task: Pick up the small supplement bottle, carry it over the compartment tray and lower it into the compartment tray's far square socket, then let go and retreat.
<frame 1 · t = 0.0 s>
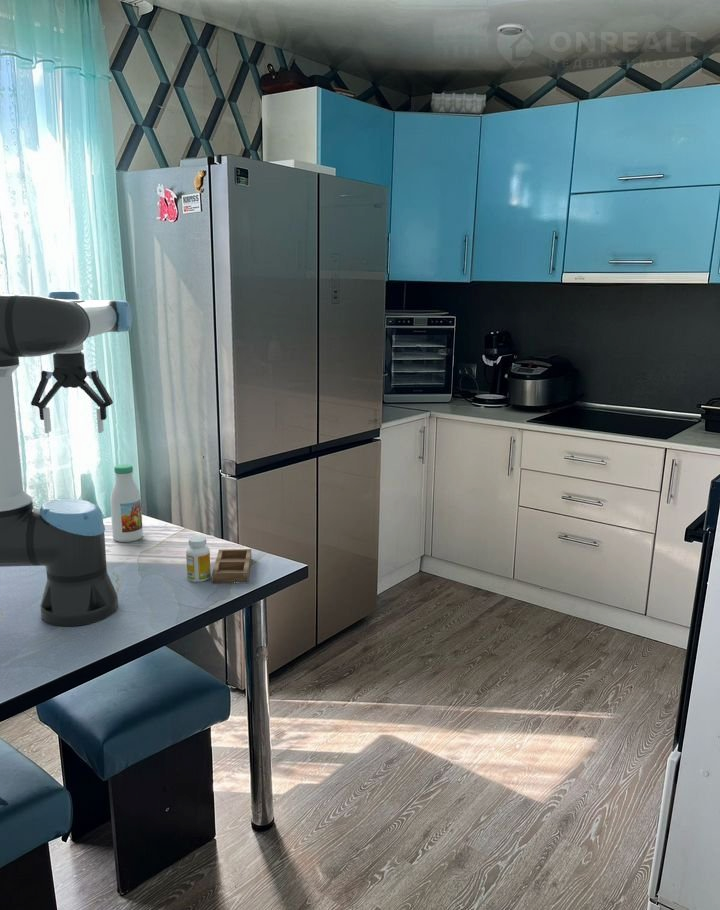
hand: (74, 432, 192), 28 cm above the table, fingers open, 13 cm apart
supplement bottle: (199, 578, 169), on the table
compartment tray: (232, 570, 174), on the table
milk bottle: (128, 538, 194), on the table
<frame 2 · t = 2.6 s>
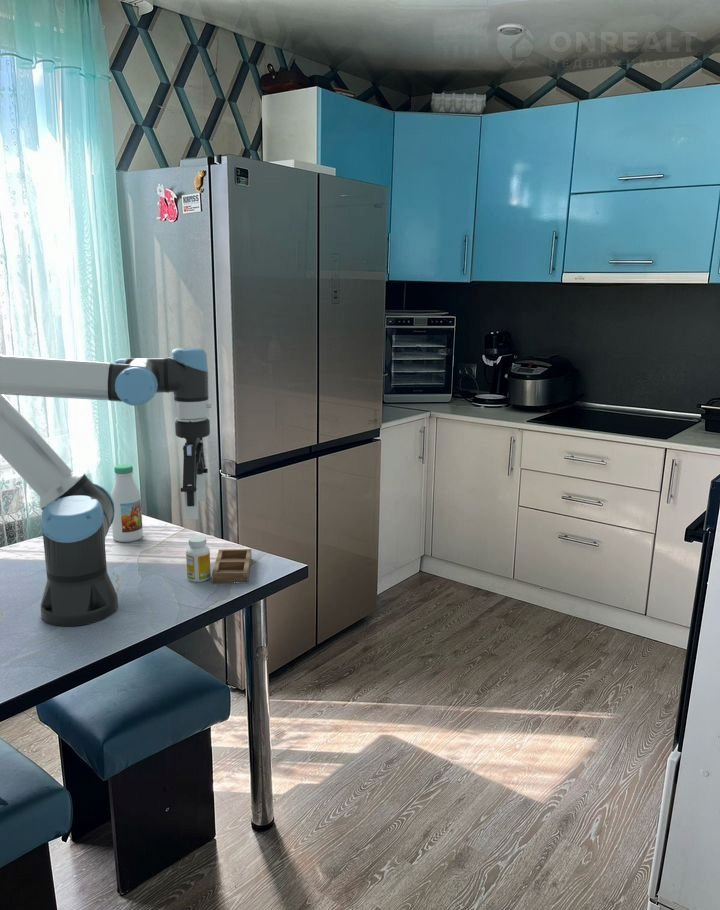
hand: (196, 509, 165), 17 cm above the table, fingers open, 13 cm apart
nothing on the table moved.
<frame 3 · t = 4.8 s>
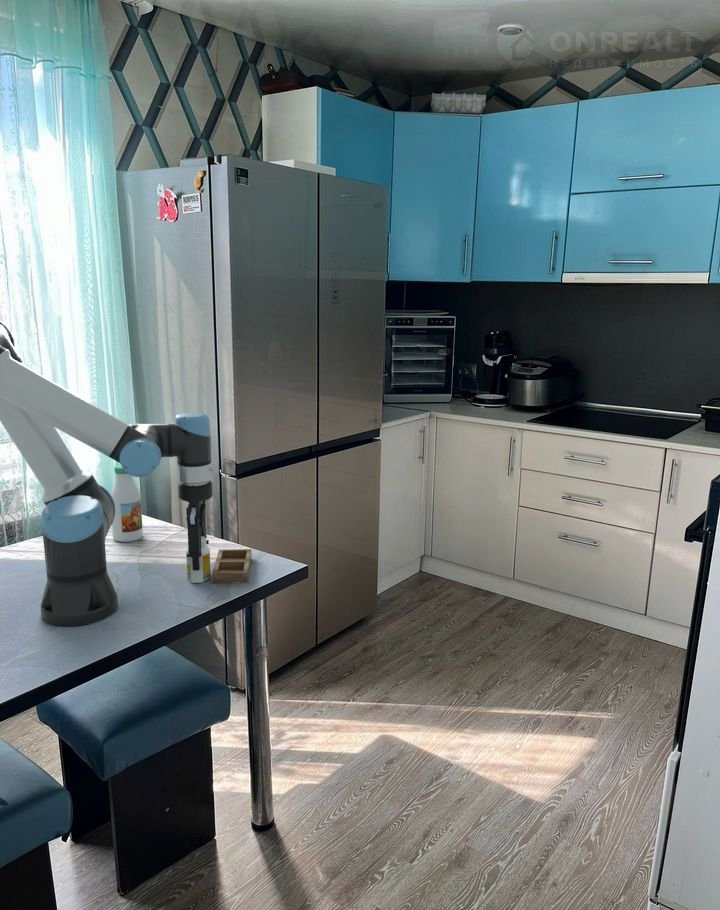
hand: (199, 576, 169), 0 cm above the table, fingers closed on supplement bottle, 5 cm apart
supplement bottle: (199, 578, 169), on the table, touching gripper
everything else where it was.
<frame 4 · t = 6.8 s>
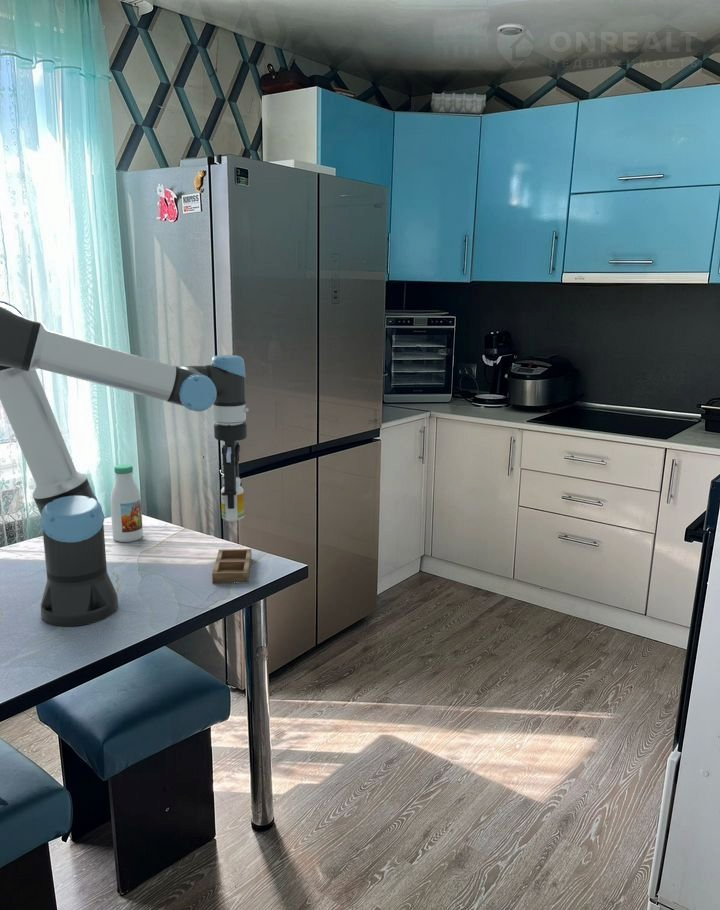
hand: (232, 516, 174), 12 cm above the table, fingers closed on supplement bottle, 5 cm apart
supplement bottle: (233, 518, 174), point 12 cm above the table, touching gripper
everything else where it was.
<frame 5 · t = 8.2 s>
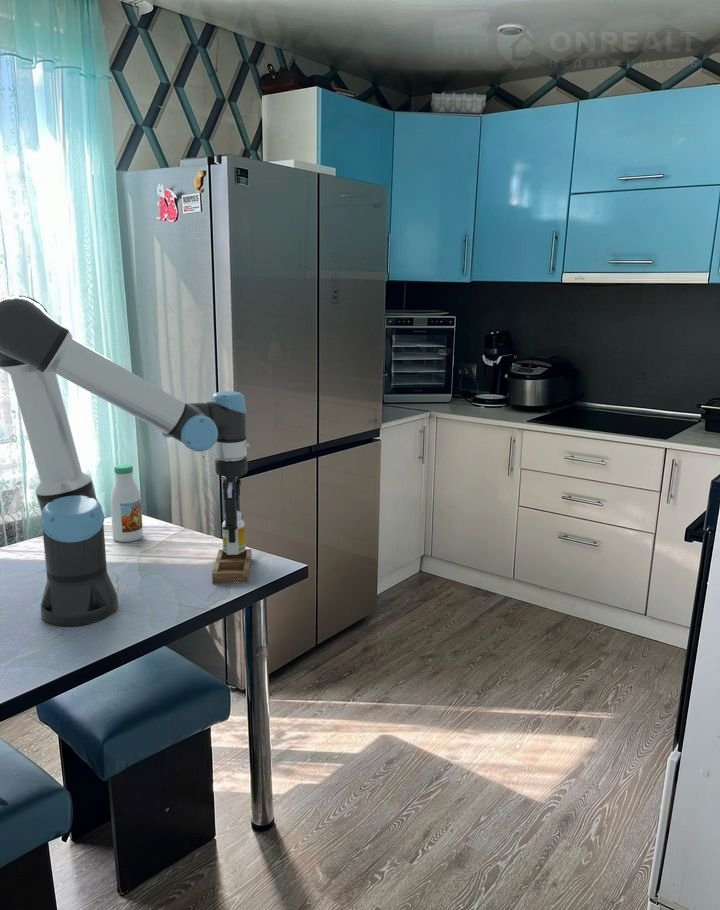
hand: (234, 549, 176), 4 cm above the table, fingers closed on supplement bottle, 5 cm apart
supplement bottle: (234, 551, 177), point 3 cm above the table, touching gripper
everything else where it was.
when the fingers open (3 cm above the table, at t = 9.0 s): supplement bottle drops 2 cm, resting on compartment tray.
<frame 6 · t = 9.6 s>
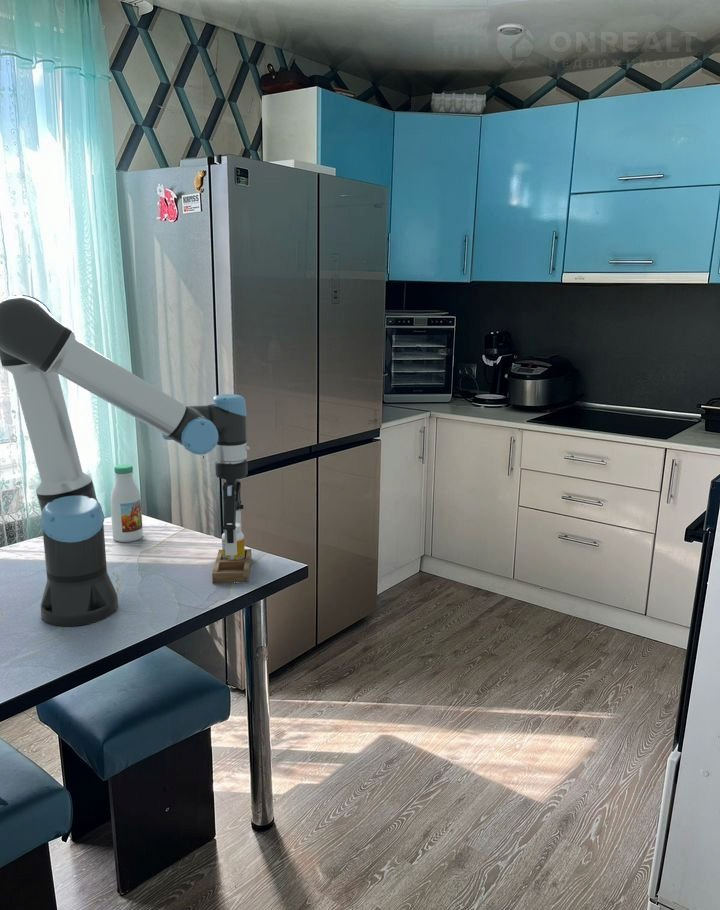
hand: (233, 544, 176), 5 cm above the table, fingers open, 13 cm apart
supplement bottle: (234, 563, 177), resting on compartment tray
everything else where it was.
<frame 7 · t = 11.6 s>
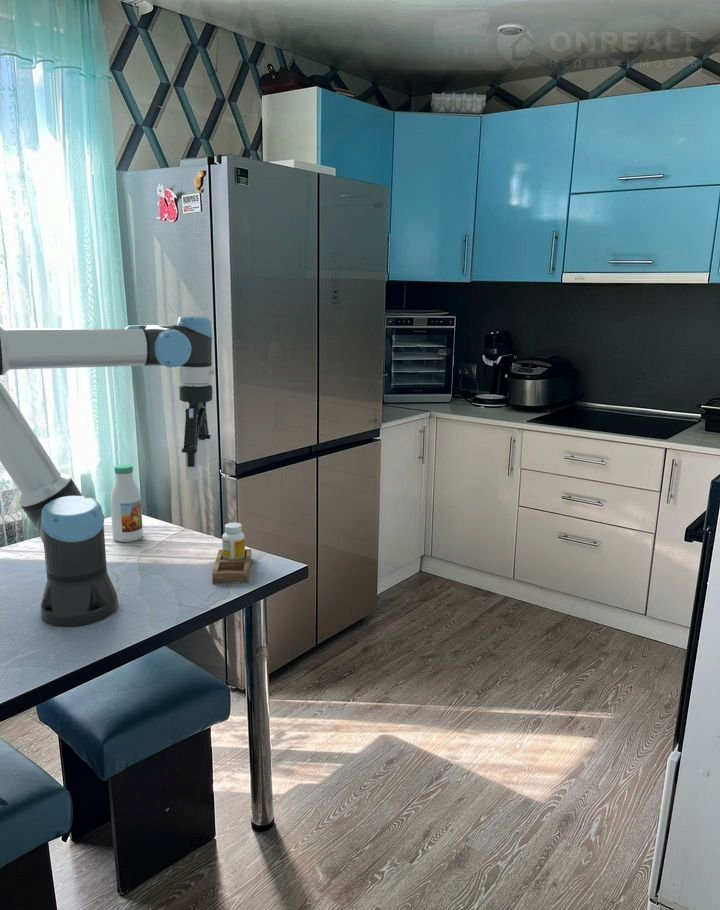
hand: (197, 472, 173), 23 cm above the table, fingers open, 13 cm apart
nothing on the table moved.
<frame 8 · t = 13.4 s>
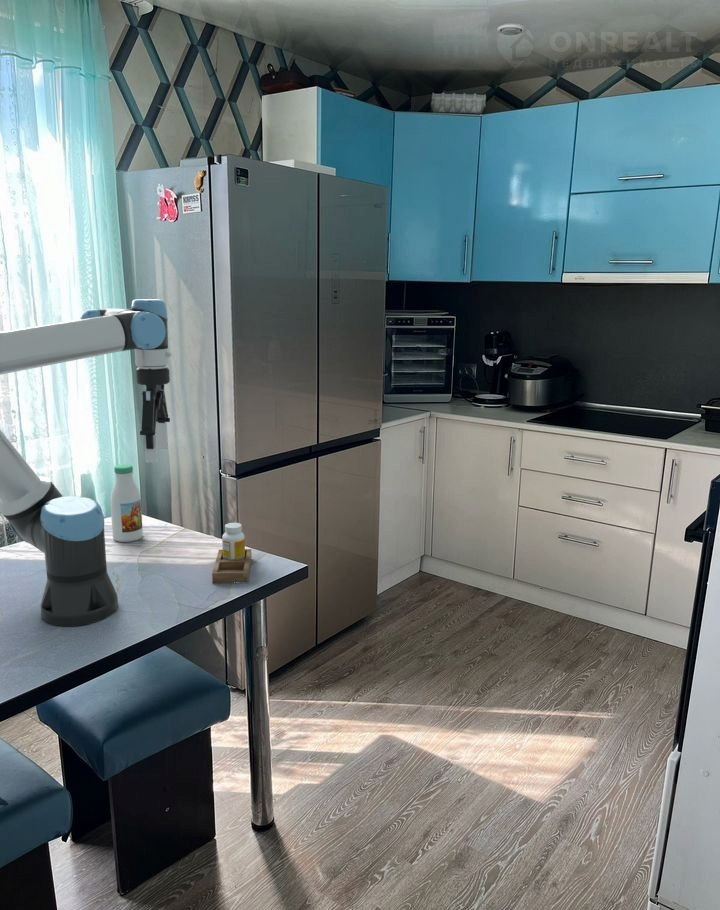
hand: (157, 455, 174), 27 cm above the table, fingers open, 13 cm apart
nothing on the table moved.
at the end: supplement bottle 0.0 cm from the target spot on the compartment tray, point 0.3 cm above the compartment tray's base; supplement bottle tilted 0°; the gripper is holding nothing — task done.
